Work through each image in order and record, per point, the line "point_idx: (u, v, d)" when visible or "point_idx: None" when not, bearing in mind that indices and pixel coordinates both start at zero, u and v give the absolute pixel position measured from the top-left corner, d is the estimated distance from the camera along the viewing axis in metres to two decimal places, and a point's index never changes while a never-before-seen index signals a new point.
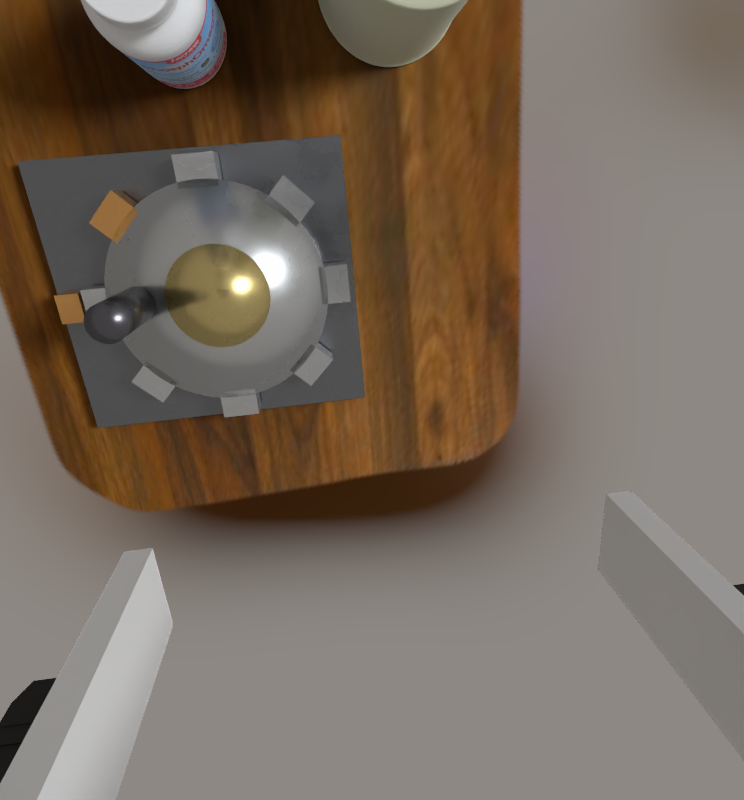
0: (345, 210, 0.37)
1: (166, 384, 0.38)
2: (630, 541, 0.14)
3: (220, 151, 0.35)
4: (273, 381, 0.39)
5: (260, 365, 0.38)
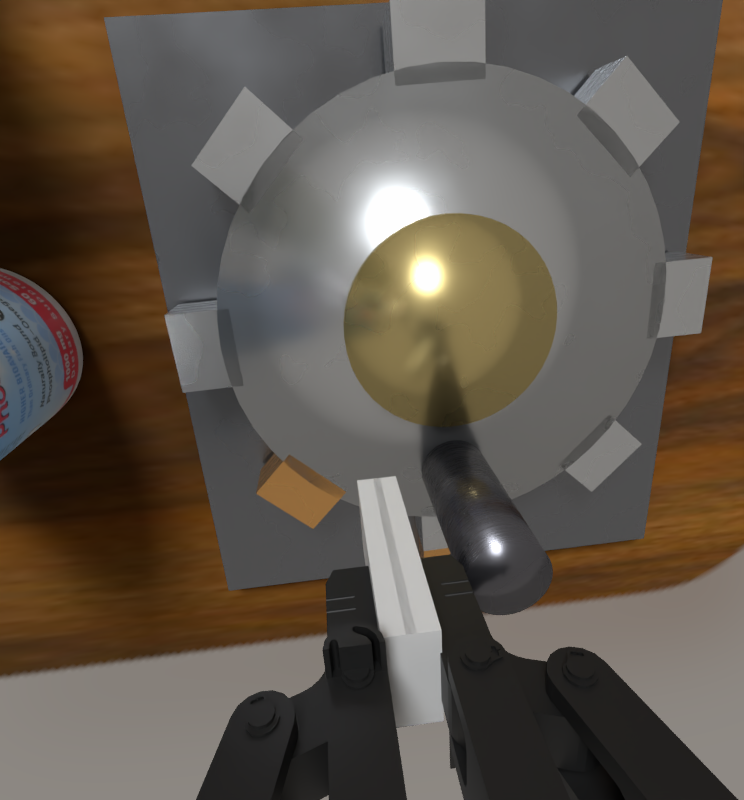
0: (269, 14, 0.16)
1: (608, 435, 0.20)
2: None
3: (175, 294, 0.18)
4: (648, 218, 0.17)
5: (606, 246, 0.17)
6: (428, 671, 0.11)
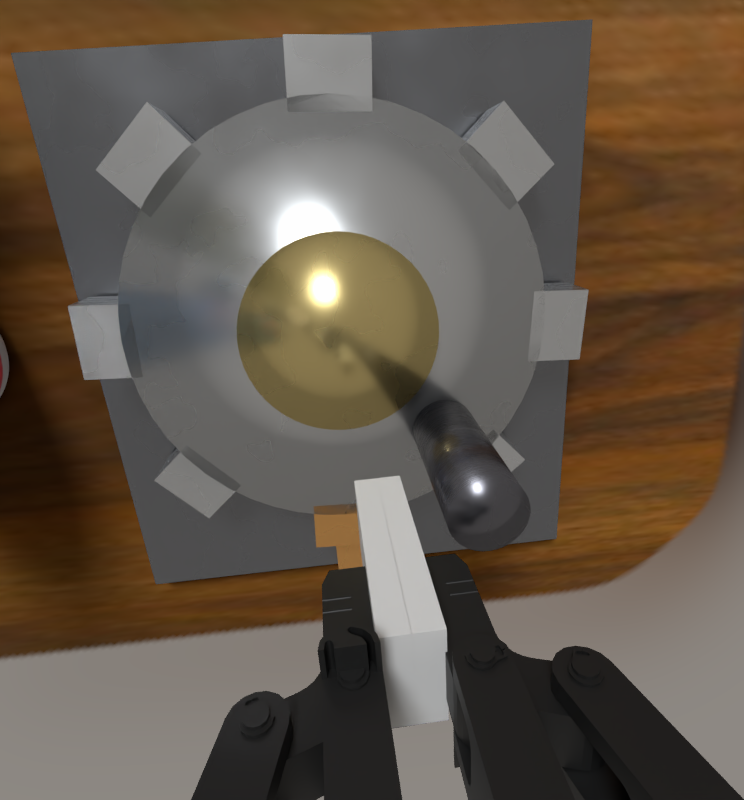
0: (164, 49, 0.17)
1: (550, 307, 0.19)
2: None
3: None
4: (418, 125, 0.16)
5: (404, 176, 0.17)
6: (433, 670, 0.11)
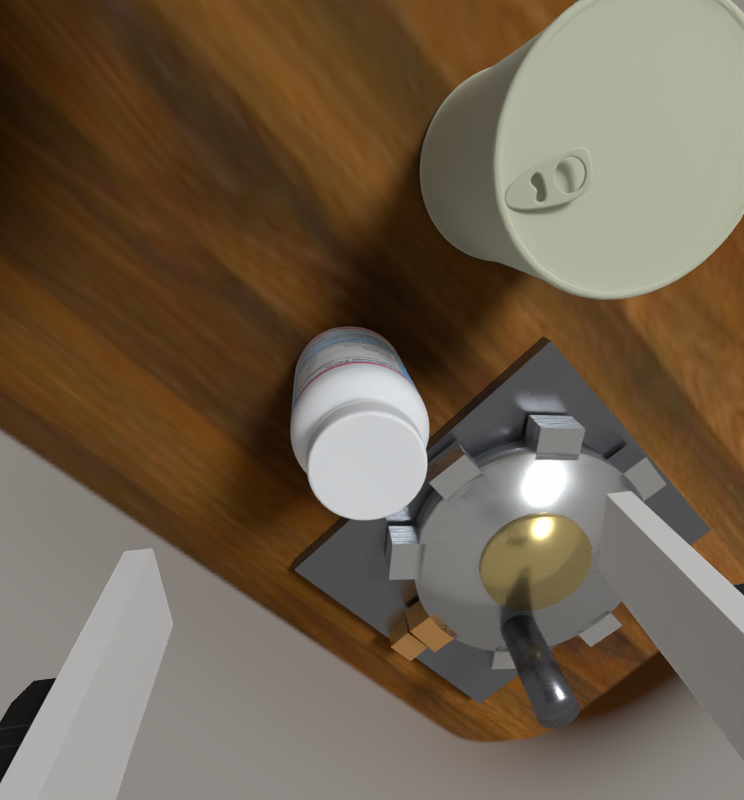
0: (595, 397, 0.31)
1: (605, 619, 0.35)
2: (630, 541, 0.14)
3: (448, 439, 0.31)
4: None
5: None
6: None
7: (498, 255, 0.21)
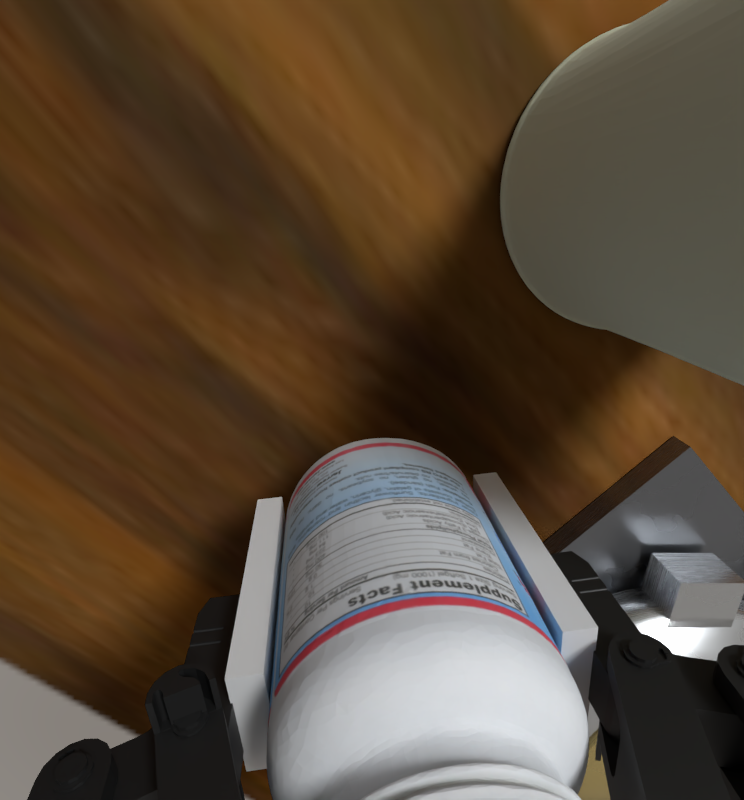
0: None
1: None
2: None
3: None
4: None
5: None
6: (579, 669, 0.11)
7: (690, 352, 0.11)
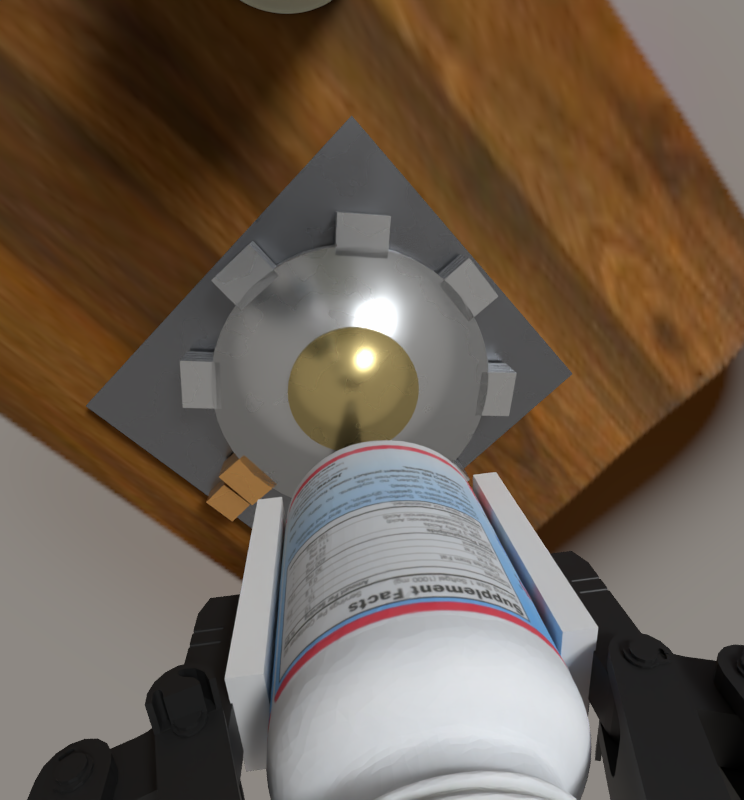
0: (414, 193, 0.27)
1: None
2: (486, 516, 0.16)
3: (246, 242, 0.27)
4: (478, 346, 0.28)
5: (452, 358, 0.28)
6: (579, 669, 0.11)
7: None
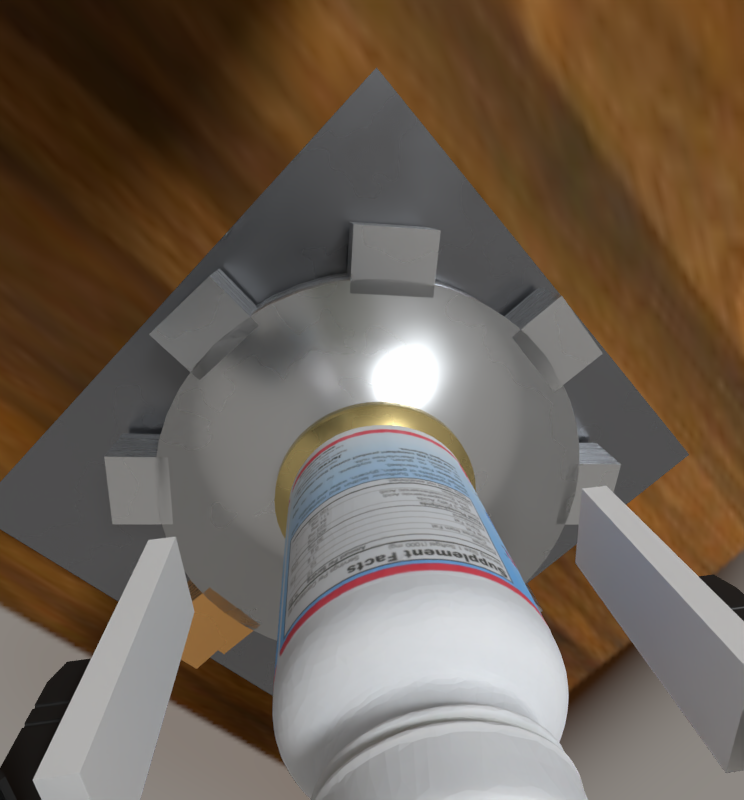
0: (472, 193, 0.17)
1: None
2: (604, 534, 0.14)
3: (209, 269, 0.17)
4: (567, 427, 0.18)
5: (527, 445, 0.19)
6: None
7: None
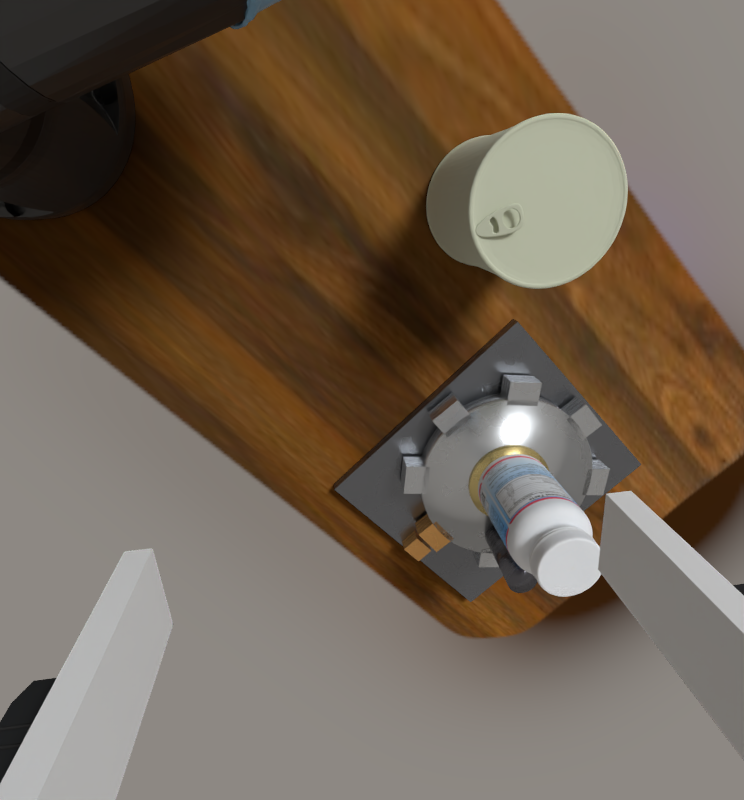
0: (550, 362, 0.44)
1: None
2: (630, 541, 0.14)
3: (446, 392, 0.44)
4: (587, 454, 0.45)
5: (570, 461, 0.45)
6: None
7: (475, 262, 0.33)
